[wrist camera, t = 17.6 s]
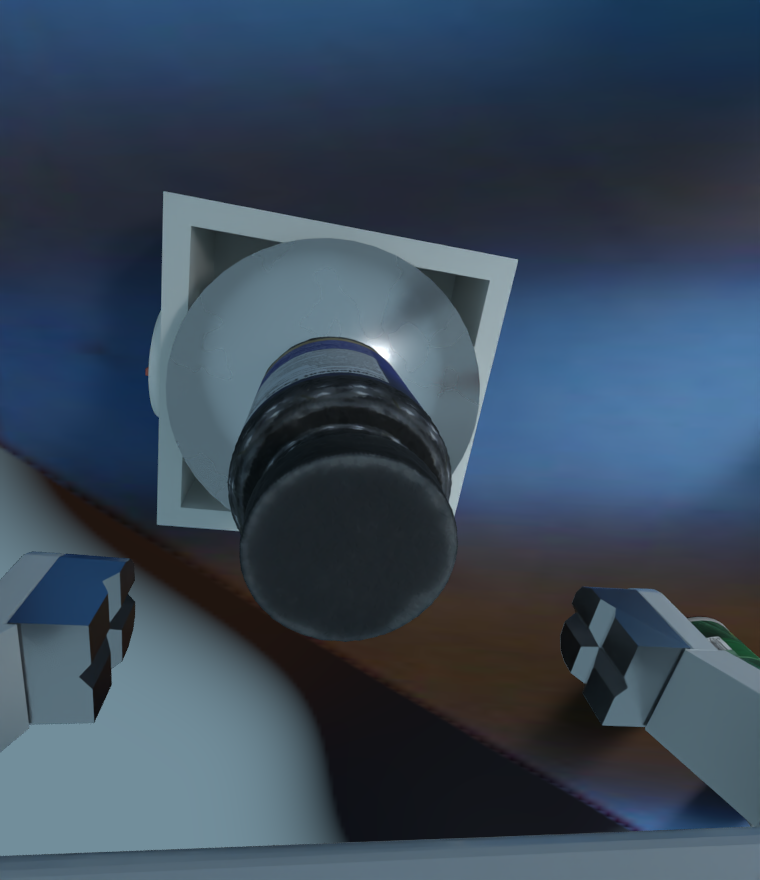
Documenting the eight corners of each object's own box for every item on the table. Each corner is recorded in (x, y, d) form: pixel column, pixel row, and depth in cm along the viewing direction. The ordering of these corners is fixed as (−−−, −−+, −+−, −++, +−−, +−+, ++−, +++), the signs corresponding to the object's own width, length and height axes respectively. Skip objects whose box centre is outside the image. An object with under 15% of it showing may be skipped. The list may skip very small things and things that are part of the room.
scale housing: (183, 202, 23) (143, 187, 18) (474, 257, 26) (518, 259, 20) (174, 469, 28) (140, 523, 22) (422, 493, 31) (446, 546, 25)
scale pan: (193, 213, 21) (169, 206, 17) (482, 268, 23) (513, 270, 20) (182, 489, 25) (162, 527, 22) (427, 511, 27) (444, 549, 24)
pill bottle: (403, 467, 22) (484, 653, 12) (265, 478, 21) (224, 686, 11) (402, 328, 20) (500, 409, 10) (248, 336, 19) (176, 431, 9)
